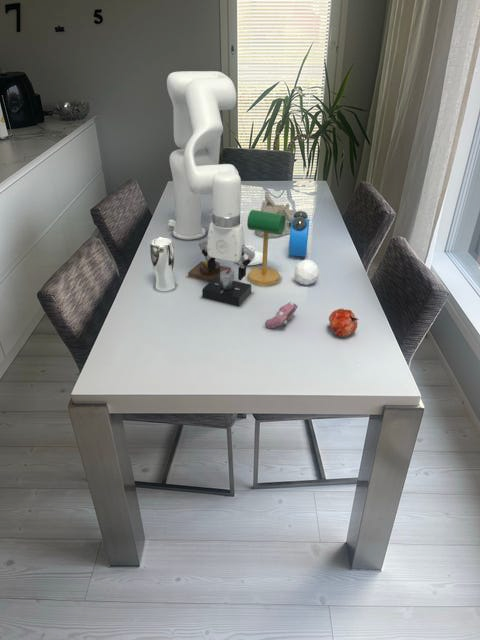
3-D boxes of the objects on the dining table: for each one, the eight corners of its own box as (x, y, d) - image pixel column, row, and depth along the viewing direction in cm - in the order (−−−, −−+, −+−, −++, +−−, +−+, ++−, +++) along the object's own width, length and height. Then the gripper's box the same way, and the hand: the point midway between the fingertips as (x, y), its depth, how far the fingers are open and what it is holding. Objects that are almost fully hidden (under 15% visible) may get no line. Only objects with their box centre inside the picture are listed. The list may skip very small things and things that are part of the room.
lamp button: (202, 267, 147) (201, 262, 146) (207, 262, 150) (207, 257, 149) (212, 269, 146) (211, 264, 145) (217, 264, 149) (217, 259, 148)
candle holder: (248, 249, 167) (249, 238, 164) (273, 259, 160) (274, 248, 157) (224, 259, 160) (224, 247, 157) (249, 270, 153) (249, 258, 150)
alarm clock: (305, 263, 157) (309, 221, 149) (287, 261, 158) (290, 220, 150) (306, 247, 168) (310, 208, 160) (290, 246, 169) (292, 207, 161)
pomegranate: (322, 341, 123) (348, 336, 114) (316, 314, 123) (341, 308, 114) (343, 335, 127) (369, 330, 118) (336, 310, 127) (362, 303, 118)
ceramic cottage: (251, 235, 177) (255, 197, 169) (260, 222, 191) (264, 186, 183) (291, 242, 174) (297, 203, 167) (297, 228, 188) (303, 191, 180)
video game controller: (275, 336, 123) (287, 320, 118) (262, 325, 124) (273, 309, 119) (291, 319, 130) (303, 304, 125) (279, 309, 131) (290, 293, 126)
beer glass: (158, 294, 139) (153, 248, 130) (150, 284, 144) (146, 239, 136) (179, 289, 141) (176, 243, 133) (171, 279, 147) (168, 235, 138)
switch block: (188, 276, 148) (187, 267, 146) (201, 265, 155) (201, 256, 153) (218, 284, 144) (218, 274, 143) (231, 272, 151) (231, 262, 149)
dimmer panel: (202, 298, 137) (202, 288, 135) (216, 285, 144) (215, 276, 142) (238, 307, 133) (239, 297, 131) (251, 293, 140) (251, 284, 138)
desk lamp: (243, 282, 146) (244, 215, 134) (255, 269, 153) (257, 205, 141) (272, 288, 142) (276, 220, 130) (283, 275, 150) (288, 210, 138)
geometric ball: (309, 292, 146) (317, 282, 138) (287, 281, 146) (293, 270, 139) (318, 274, 149) (326, 262, 141) (296, 263, 149) (303, 251, 141)
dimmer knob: (230, 291, 135) (230, 276, 132) (218, 288, 136) (217, 273, 133) (235, 285, 138) (235, 270, 135) (223, 282, 139) (223, 268, 136)
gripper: (192, 218, 125) (194, 273, 135) (250, 229, 120) (248, 286, 129) (204, 209, 131) (206, 263, 141) (261, 220, 125) (258, 275, 135)
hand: (226, 274), depth 135 cm, fingers open, 9 cm apart
